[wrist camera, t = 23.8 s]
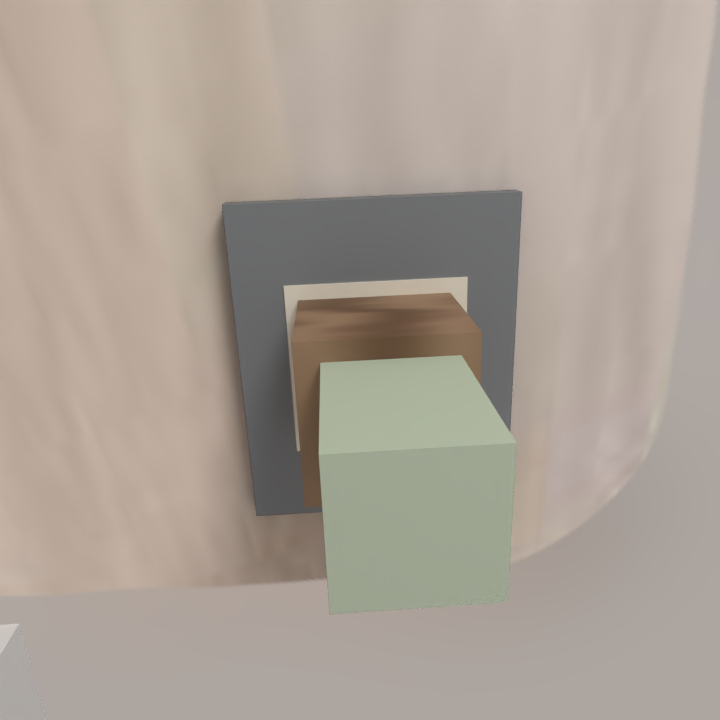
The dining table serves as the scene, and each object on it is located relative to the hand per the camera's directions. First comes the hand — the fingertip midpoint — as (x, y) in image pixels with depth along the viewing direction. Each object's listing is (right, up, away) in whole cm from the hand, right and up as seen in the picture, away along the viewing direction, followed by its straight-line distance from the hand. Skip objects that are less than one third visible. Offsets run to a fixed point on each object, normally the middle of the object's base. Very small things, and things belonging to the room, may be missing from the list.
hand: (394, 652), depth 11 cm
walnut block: (0, +5, +22) cm, 23 cm away
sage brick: (+1, +3, +16) cm, 16 cm away
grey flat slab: (0, +5, +24) cm, 24 cm away
